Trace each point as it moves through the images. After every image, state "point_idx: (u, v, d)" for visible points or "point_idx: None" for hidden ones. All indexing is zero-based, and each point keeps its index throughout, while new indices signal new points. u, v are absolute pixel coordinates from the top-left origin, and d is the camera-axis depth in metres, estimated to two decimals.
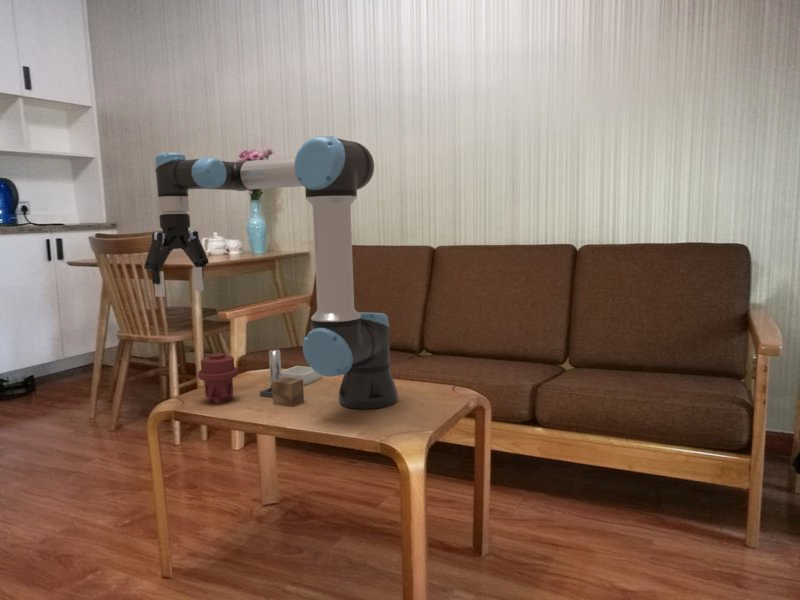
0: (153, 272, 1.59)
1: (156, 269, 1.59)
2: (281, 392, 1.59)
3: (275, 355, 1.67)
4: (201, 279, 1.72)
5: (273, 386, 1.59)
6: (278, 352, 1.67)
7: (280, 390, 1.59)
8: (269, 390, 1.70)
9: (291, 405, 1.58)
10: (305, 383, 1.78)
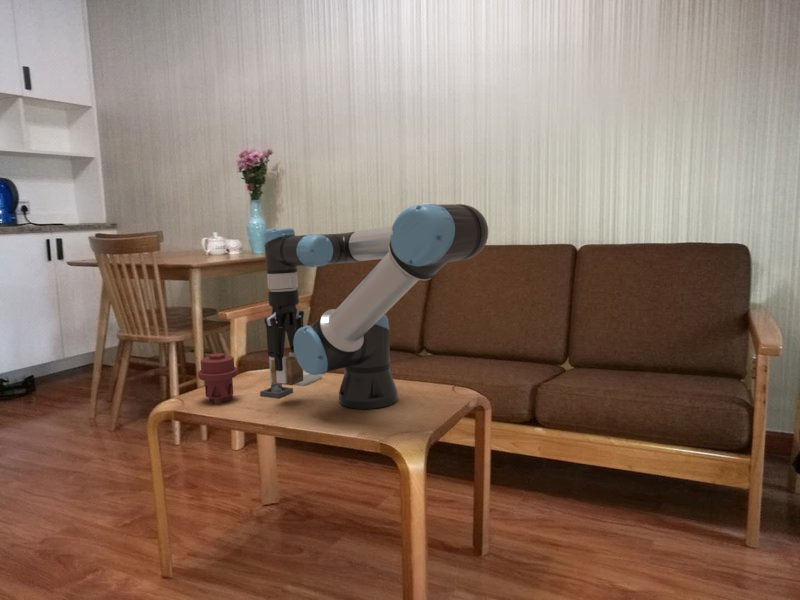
0: (276, 359, 1.55)
1: (280, 357, 1.55)
2: None
3: None
4: None
5: (272, 364, 1.59)
6: None
7: None
8: (269, 390, 1.70)
9: (290, 383, 1.57)
10: (305, 383, 1.78)
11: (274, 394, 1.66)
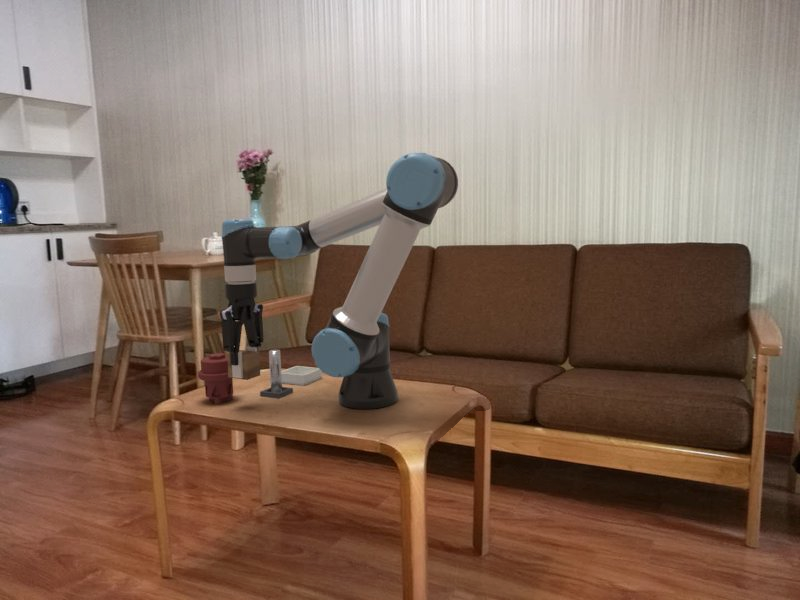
0: (232, 353, 1.52)
1: (235, 351, 1.51)
2: None
3: (275, 355, 1.67)
4: None
5: (228, 358, 1.55)
6: (278, 352, 1.67)
7: None
8: (269, 390, 1.70)
9: (246, 378, 1.53)
10: (305, 383, 1.78)
11: (274, 394, 1.66)
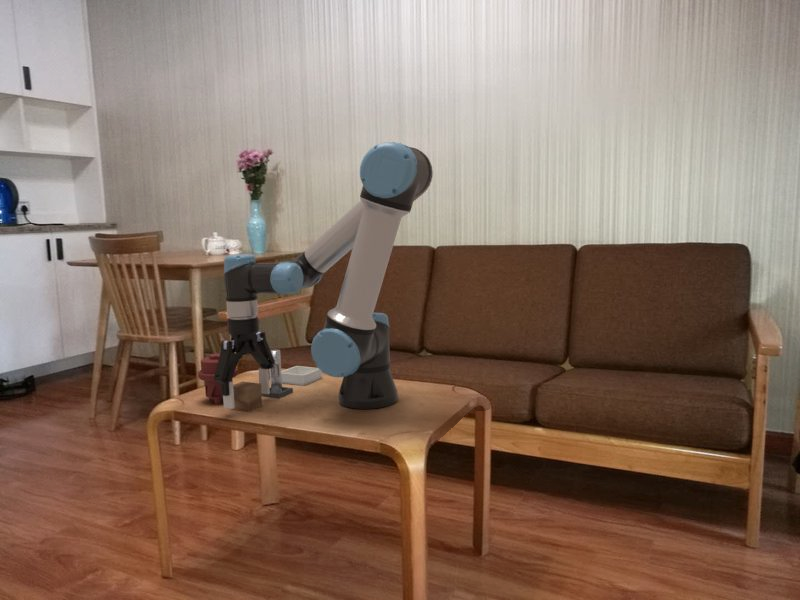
0: (222, 383, 1.49)
1: (226, 381, 1.49)
2: (237, 397, 1.55)
3: (275, 355, 1.67)
4: (268, 382, 1.62)
5: None
6: (278, 352, 1.67)
7: (237, 395, 1.55)
8: None
9: (248, 410, 1.54)
10: (305, 383, 1.78)
11: (274, 394, 1.66)
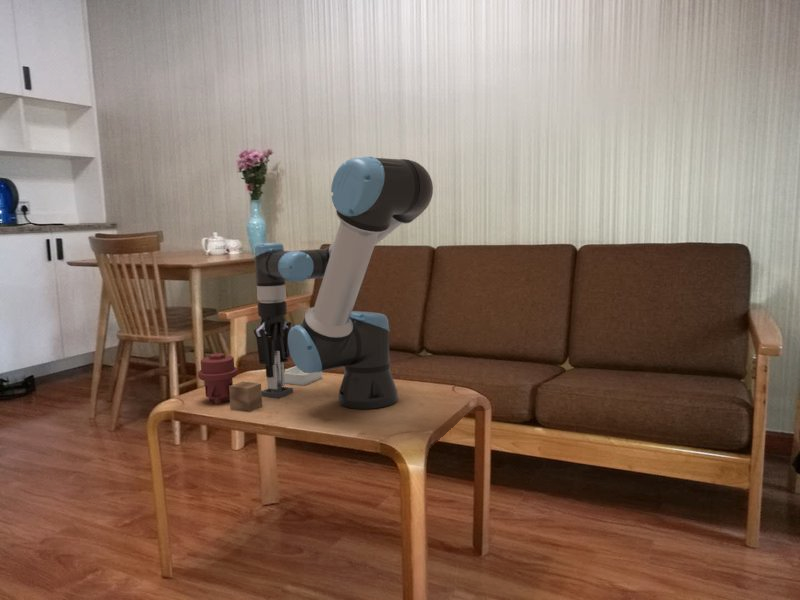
0: (267, 366, 1.66)
1: (271, 365, 1.65)
2: (238, 397, 1.55)
3: (275, 356, 1.67)
4: (283, 374, 1.70)
5: (230, 391, 1.56)
6: (278, 352, 1.67)
7: (237, 395, 1.55)
8: (269, 390, 1.70)
9: (248, 410, 1.54)
10: (305, 383, 1.78)
11: (274, 394, 1.66)
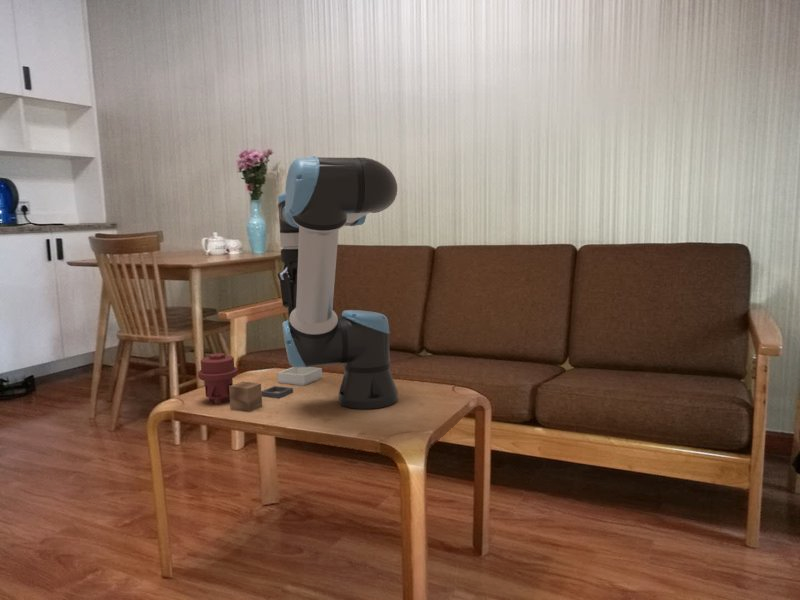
0: (290, 308, 1.78)
1: (293, 307, 1.78)
2: (238, 397, 1.55)
3: None
4: None
5: (230, 391, 1.56)
6: None
7: (237, 395, 1.55)
8: (269, 390, 1.70)
9: (248, 410, 1.54)
10: (305, 383, 1.78)
11: (274, 394, 1.66)
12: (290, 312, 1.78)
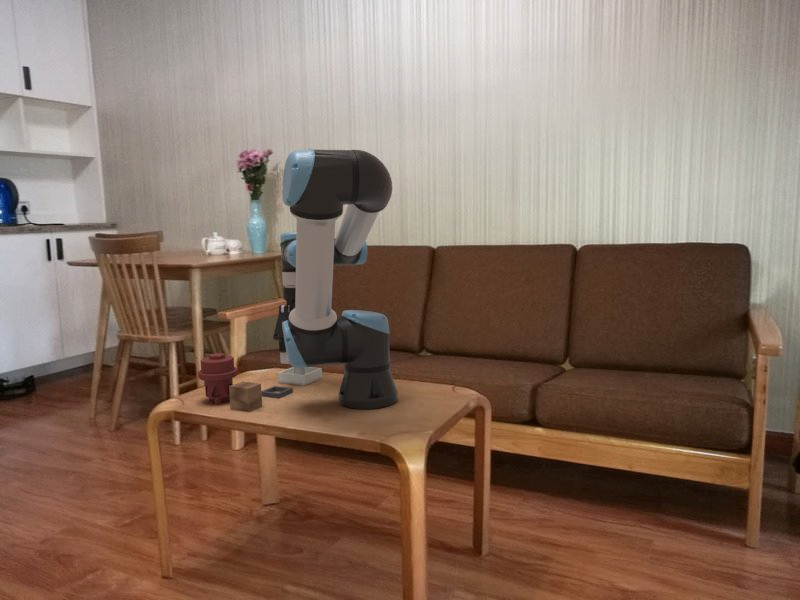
0: (280, 342, 1.74)
1: (283, 339, 1.74)
2: (238, 397, 1.55)
3: None
4: None
5: (230, 391, 1.56)
6: None
7: (237, 395, 1.55)
8: (269, 390, 1.70)
9: (248, 410, 1.54)
10: (305, 383, 1.78)
11: (274, 394, 1.66)
12: (281, 345, 1.74)
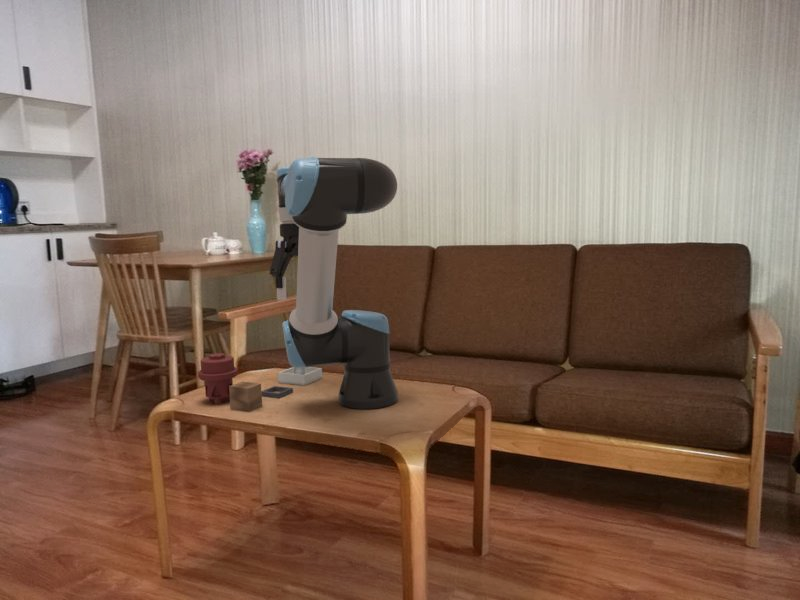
0: (277, 277, 1.72)
1: (280, 274, 1.72)
2: (238, 397, 1.55)
3: None
4: None
5: (230, 391, 1.56)
6: None
7: (237, 395, 1.55)
8: (269, 390, 1.70)
9: (248, 410, 1.54)
10: (305, 383, 1.78)
11: (274, 394, 1.66)
12: (277, 281, 1.72)
